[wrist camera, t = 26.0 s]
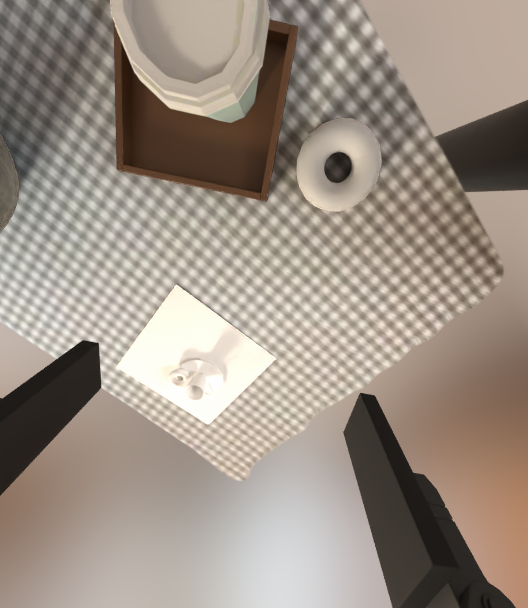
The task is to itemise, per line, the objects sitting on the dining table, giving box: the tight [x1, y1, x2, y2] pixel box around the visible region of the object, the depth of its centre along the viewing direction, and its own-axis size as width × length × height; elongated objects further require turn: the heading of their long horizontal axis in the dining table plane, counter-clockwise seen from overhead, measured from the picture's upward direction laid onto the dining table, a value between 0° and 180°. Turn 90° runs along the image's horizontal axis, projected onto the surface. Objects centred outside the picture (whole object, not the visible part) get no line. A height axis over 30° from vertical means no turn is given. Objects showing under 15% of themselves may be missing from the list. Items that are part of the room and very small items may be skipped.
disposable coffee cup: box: [110, 0, 270, 123], centre depth 23 cm, size 11×11×15 cm
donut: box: [296, 118, 382, 212], centre depth 31 cm, size 10×4×10 cm
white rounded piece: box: [167, 359, 224, 401], centre depth 44 cm, size 9×8×4 cm
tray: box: [114, 20, 298, 201], centre depth 30 cm, size 19×17×3 cm
